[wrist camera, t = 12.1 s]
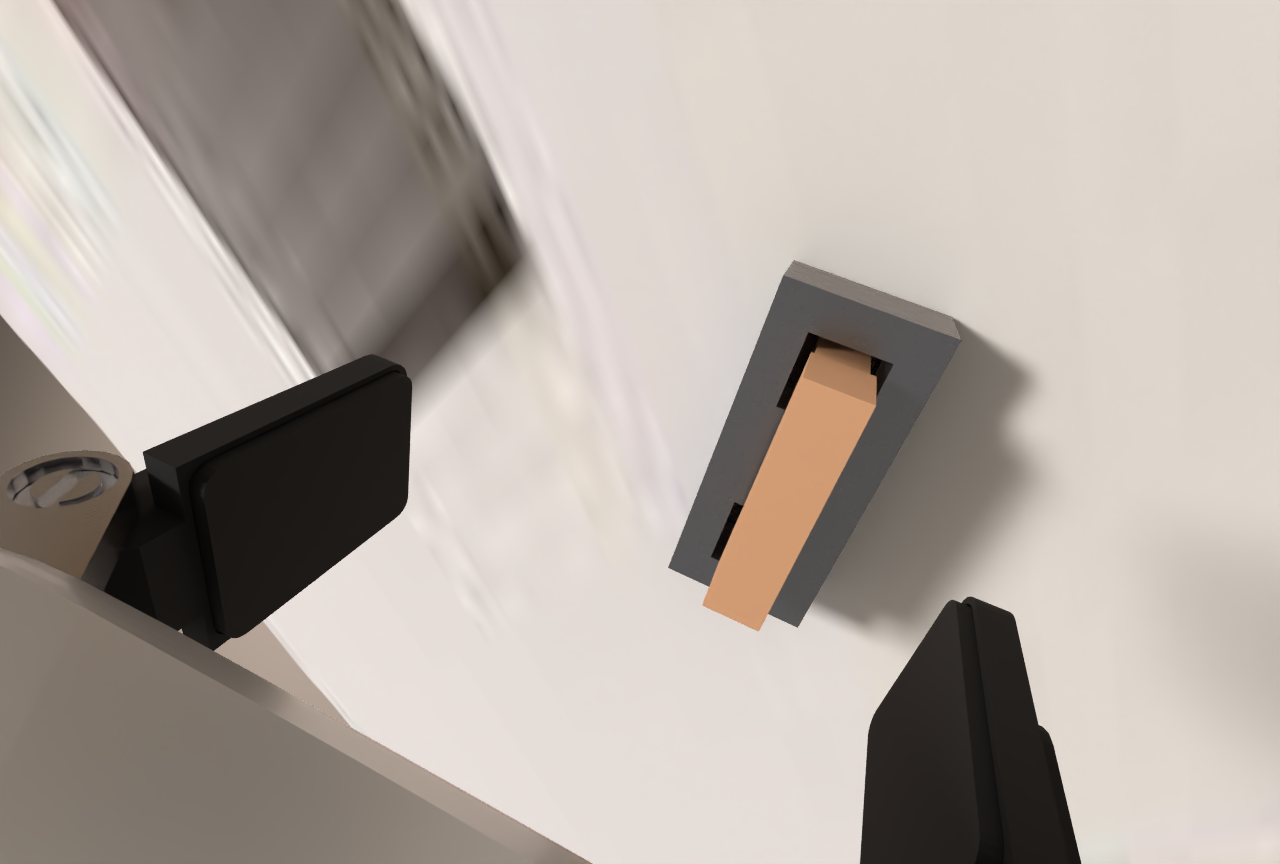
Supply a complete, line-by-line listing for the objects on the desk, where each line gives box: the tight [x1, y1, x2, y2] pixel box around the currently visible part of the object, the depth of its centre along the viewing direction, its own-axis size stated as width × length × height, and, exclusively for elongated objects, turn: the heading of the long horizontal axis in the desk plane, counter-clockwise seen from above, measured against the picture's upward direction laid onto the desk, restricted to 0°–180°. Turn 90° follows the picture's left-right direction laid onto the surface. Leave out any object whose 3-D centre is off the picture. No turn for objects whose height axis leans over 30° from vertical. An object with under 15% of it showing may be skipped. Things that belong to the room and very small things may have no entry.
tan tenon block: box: [703, 336, 877, 631], centre depth 32 cm, size 3×13×8 cm, turn 163°
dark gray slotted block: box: [668, 260, 961, 627], centre depth 34 cm, size 8×18×4 cm, turn 163°
